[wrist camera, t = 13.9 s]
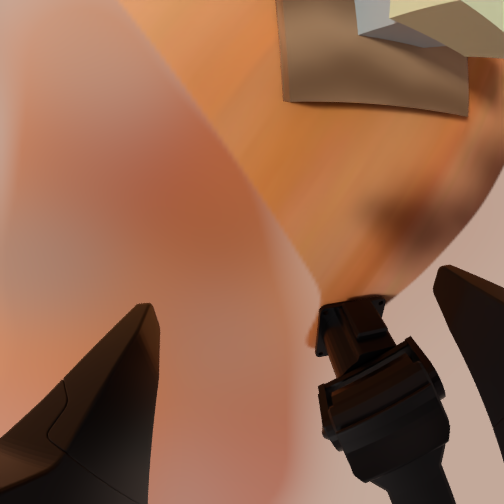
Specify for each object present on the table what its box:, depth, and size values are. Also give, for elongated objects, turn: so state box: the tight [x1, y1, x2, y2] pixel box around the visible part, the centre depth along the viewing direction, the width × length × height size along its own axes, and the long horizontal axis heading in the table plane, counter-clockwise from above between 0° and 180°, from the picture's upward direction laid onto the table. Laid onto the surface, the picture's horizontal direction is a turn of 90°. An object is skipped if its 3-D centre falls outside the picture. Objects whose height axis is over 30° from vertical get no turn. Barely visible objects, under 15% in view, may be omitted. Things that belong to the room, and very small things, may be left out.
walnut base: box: [275, 0, 469, 117], centre depth 13 cm, size 14×14×2 cm
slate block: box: [354, 0, 446, 48], centre depth 10 cm, size 5×5×5 cm
